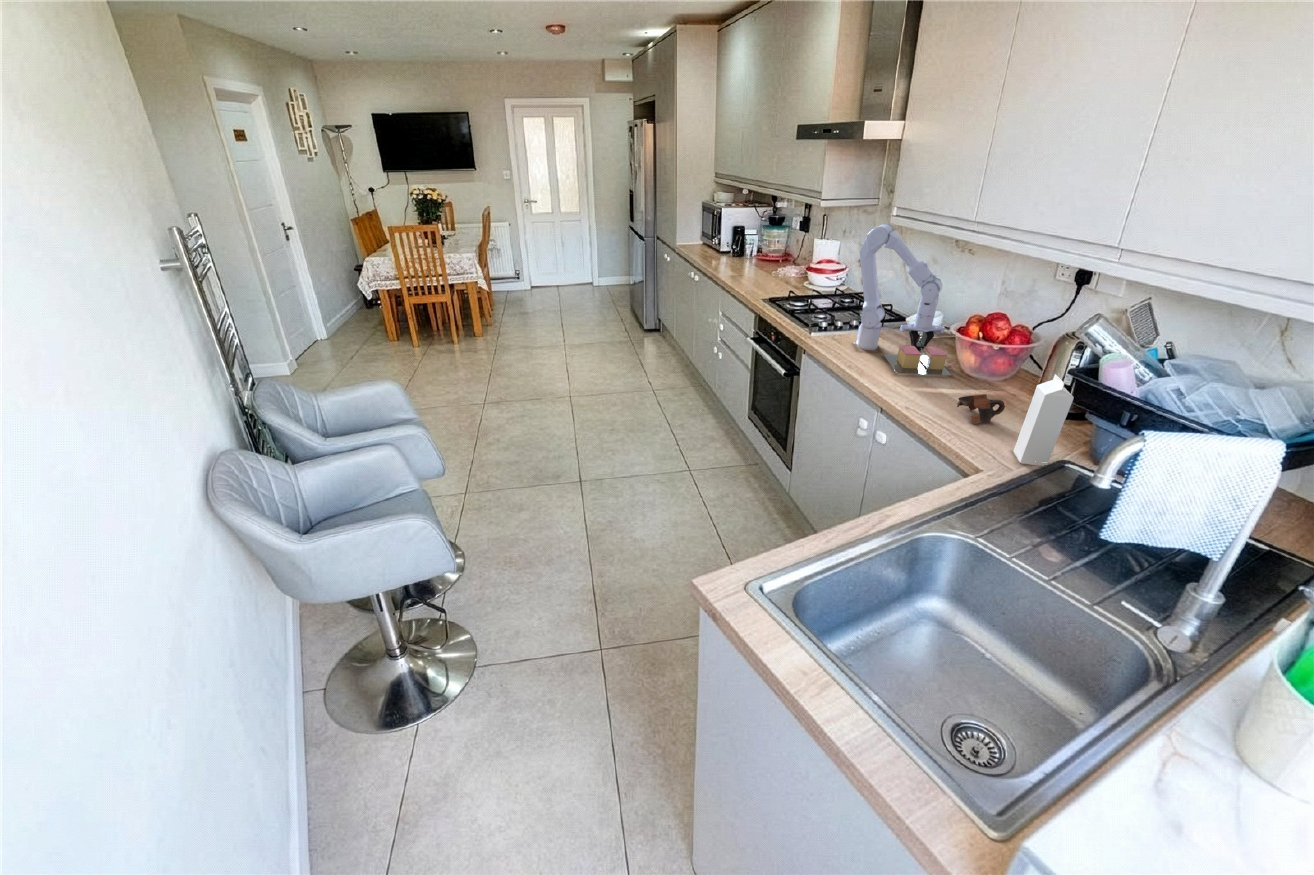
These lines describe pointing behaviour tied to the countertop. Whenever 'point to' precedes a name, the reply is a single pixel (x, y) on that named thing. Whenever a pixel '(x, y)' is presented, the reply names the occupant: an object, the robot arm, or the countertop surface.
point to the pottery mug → (981, 407)
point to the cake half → (908, 357)
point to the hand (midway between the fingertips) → (917, 351)
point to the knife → (923, 355)
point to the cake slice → (936, 357)
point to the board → (921, 368)
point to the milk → (1043, 422)
